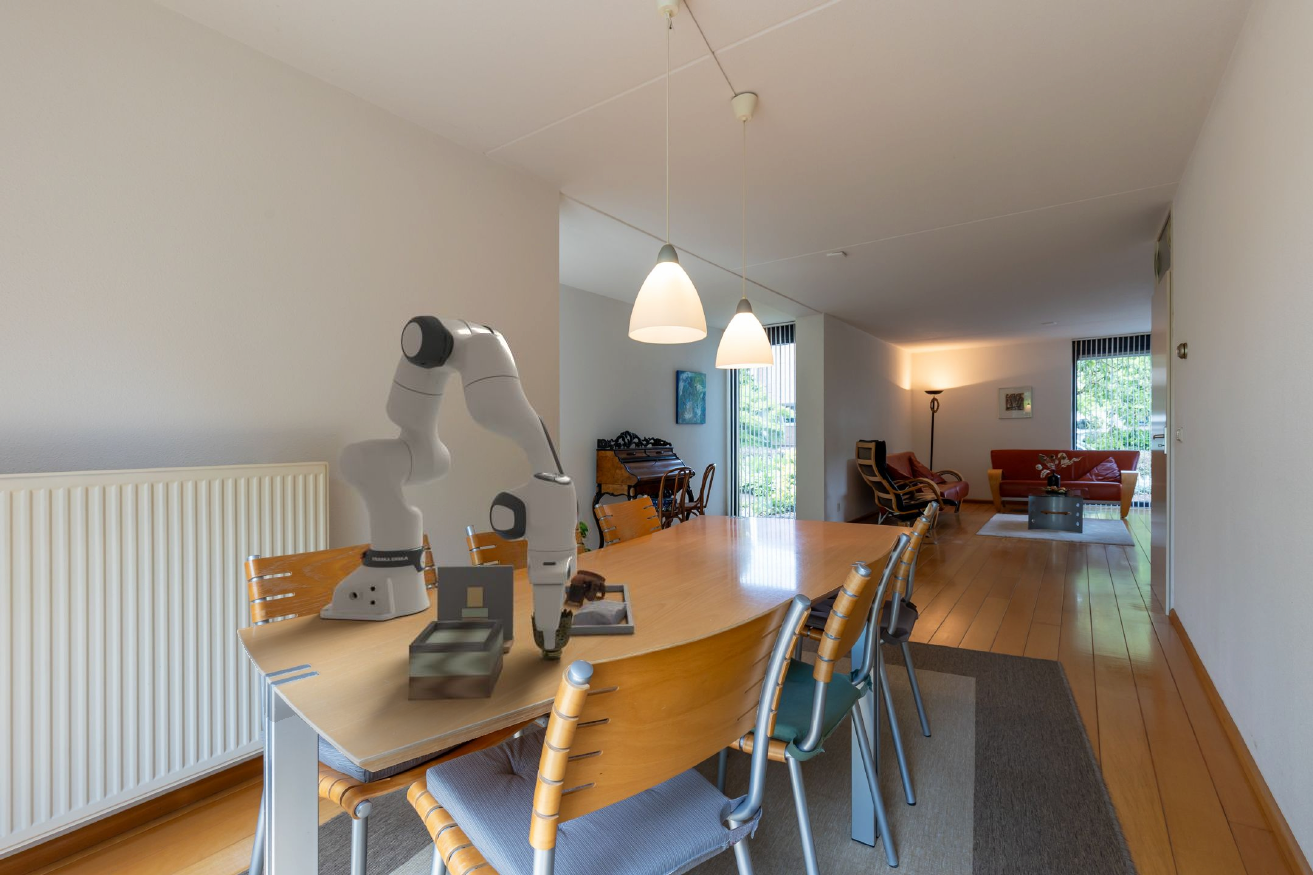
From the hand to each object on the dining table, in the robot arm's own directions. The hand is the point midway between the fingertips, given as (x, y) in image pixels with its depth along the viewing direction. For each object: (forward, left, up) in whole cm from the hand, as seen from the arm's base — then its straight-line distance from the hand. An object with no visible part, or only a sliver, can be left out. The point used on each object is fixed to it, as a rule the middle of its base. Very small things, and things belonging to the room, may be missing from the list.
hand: (551, 639), depth 107 cm
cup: (0, 0, -3) cm, 3 cm away
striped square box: (-14, -10, -3) cm, 17 cm away
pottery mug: (+5, +37, -4) cm, 38 cm away
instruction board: (-15, +6, -3) cm, 16 cm away
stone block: (+8, +21, -4) cm, 23 cm away
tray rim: (+7, +29, -3) cm, 30 cm away
